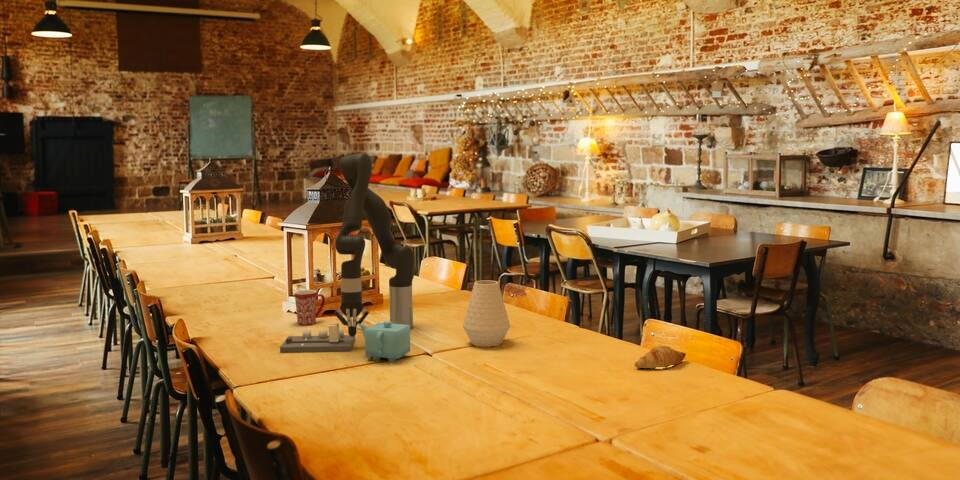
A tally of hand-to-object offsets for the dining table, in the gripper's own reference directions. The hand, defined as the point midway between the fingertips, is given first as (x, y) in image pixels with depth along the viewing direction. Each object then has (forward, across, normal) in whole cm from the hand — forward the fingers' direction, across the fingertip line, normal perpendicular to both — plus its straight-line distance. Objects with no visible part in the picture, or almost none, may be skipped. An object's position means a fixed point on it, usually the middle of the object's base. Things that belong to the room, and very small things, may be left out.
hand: (352, 336), depth 294 cm
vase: (+4, -49, -1) cm, 50 cm away
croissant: (+4, -106, +31) cm, 110 cm away
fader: (+2, +7, 0) cm, 7 cm away
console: (+4, +13, -1) cm, 13 cm away
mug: (+4, +22, -39) cm, 45 cm away
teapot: (+4, -12, +15) cm, 19 cm away
